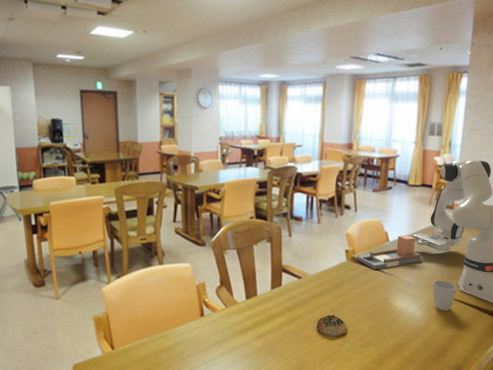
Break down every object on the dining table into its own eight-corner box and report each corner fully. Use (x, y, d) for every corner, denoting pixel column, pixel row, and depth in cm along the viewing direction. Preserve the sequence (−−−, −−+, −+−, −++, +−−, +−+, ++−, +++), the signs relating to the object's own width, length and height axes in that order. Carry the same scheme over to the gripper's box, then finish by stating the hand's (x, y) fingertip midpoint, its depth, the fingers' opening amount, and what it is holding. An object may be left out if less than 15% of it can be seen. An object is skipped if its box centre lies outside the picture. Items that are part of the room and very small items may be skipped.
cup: (457, 312, 147) (460, 289, 145) (437, 312, 147) (439, 289, 145) (447, 302, 155) (449, 280, 153) (427, 302, 155) (430, 280, 153)
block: (413, 255, 203) (415, 238, 201) (404, 256, 200) (406, 239, 199) (405, 251, 208) (406, 234, 206) (396, 253, 206) (398, 236, 204)
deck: (421, 261, 200) (422, 255, 199) (374, 269, 188) (374, 262, 188) (402, 252, 213) (402, 246, 212) (356, 259, 201) (357, 253, 201)
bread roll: (325, 316, 143) (327, 305, 141) (351, 331, 136) (354, 319, 135) (310, 330, 134) (312, 318, 133) (337, 346, 128) (340, 334, 126)
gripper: (423, 230, 221) (405, 232, 216) (453, 240, 202) (434, 243, 197) (422, 240, 222) (404, 242, 217) (451, 251, 203) (433, 254, 198)
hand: (418, 243), depth 207 cm, fingers closed
